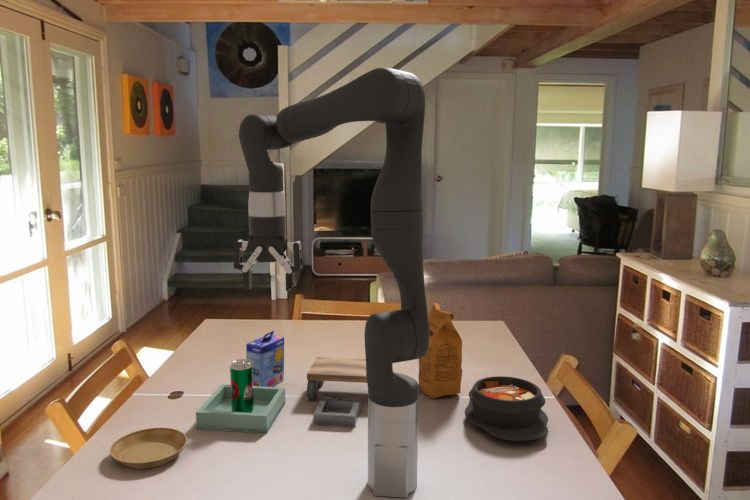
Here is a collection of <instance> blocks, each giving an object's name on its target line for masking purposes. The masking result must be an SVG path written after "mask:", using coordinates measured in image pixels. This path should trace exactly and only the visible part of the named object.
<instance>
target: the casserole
mask: <svg viewBox="0 0 750 500" xmlns="http://www.w3.org/2000/svg"><path fill="white" fill-rule="evenodd" d="M468 397H469V399H468V400H469V401H468V404H467V406H466V408H465V409H464V415H465V417H466V419H467V420H468V421H469V422H470V423H472V424H473V425H475V426H476V427H478V428H481V429H483V430H484V431H486V432H487V433H488V434H490V435H491V436H493V437H494V438H496V439H497V440H503V441H504V440H505V441H509V442H510V441H511V442H527V441H535V440H540V439H542V438H544V437H546V436H547V434H548V433H547V431H548V430H547V425H548V422H549V418H548V416H547V415H548V414H547V413H546V412H545V411H544V410H543V409H542V408H543V407H544V406H545V405H546V404H545V403H546V398H545V397H544V395H543V394H542V390H541V388H540V387H539V386H538V385H537V384H535V383H533V382H531V381H529V380H526V379H522V378H520V377H514V376H512V377H511V376H497V375H496V376H490V377H489V376H488V377H484V378H481V379H478V380H476V381H475V382H474V384H473V386H472V388H471V389H470V391H469V392H468Z"/></svg>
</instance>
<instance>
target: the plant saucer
mask: <svg viewBox="0 0 750 500" xmlns="http://www.w3.org/2000/svg"><path fill="white" fill-rule="evenodd" d="M187 442H188V438H187V436H186V434H185V433H184V432H182V431H181V430H179V429H175V428H171V427H151V428H149V427H148V428H144V429H139V430H136V431H132V432H130V433H127V434H125V435H123V436H121V437H120V438H119V437H118V439H117V440H115V441H114V442H113V443H112V445H110V449H109V453H110V456H111V457H112V458H113V459H114V460H115V461H116V462H118V463H119V464H121V465H123V466H125V467H127V468H130V469H136V470H140V469H141V470H143V469H144V470H145V469H151V468H156V467H160V466H163V465H165V464H168V463H169V462H171V461H172V460H173V459H175V458H176V457H177V456H178V455H179V454H180V453H181V452H182V451H183V450H184V448H185V446H186V445H187Z"/></svg>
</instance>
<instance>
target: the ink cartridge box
mask: <svg viewBox="0 0 750 500" xmlns="http://www.w3.org/2000/svg"><path fill="white" fill-rule="evenodd" d="M274 332H275V330H272V331H270V332H268V333H265V335H263V336H261V337H260V338H257V339H253V340H252V341H249V342H247V343H246V344H245V346H246V351H245V352H246V358H245V359H247V360H250V361H251V364H252V366H253V386H263V387H275V386H276V385H278V384H280V383H282V382H284V380H285V337H284V336H280V335H276V334H274Z"/></svg>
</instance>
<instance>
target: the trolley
mask: <svg viewBox="0 0 750 500" xmlns="http://www.w3.org/2000/svg"><path fill="white" fill-rule="evenodd" d="M306 380H307V385H306V397H307V399H308V400H314V401H316V399H317V396H318V390H319V386H323V385H324V383H325V382H337V383H338V382H341V383H342V382H343V383H363V384H367V378H366V358H349V357H347V358H346V357H345V358H344V357H343V358H342V357H327V356H326V357H325V356H323V357H321V356H317V357H316V358H315V360H314V362H313V363H312V365H310V368H309V370H308V372H307V373H306Z"/></svg>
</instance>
